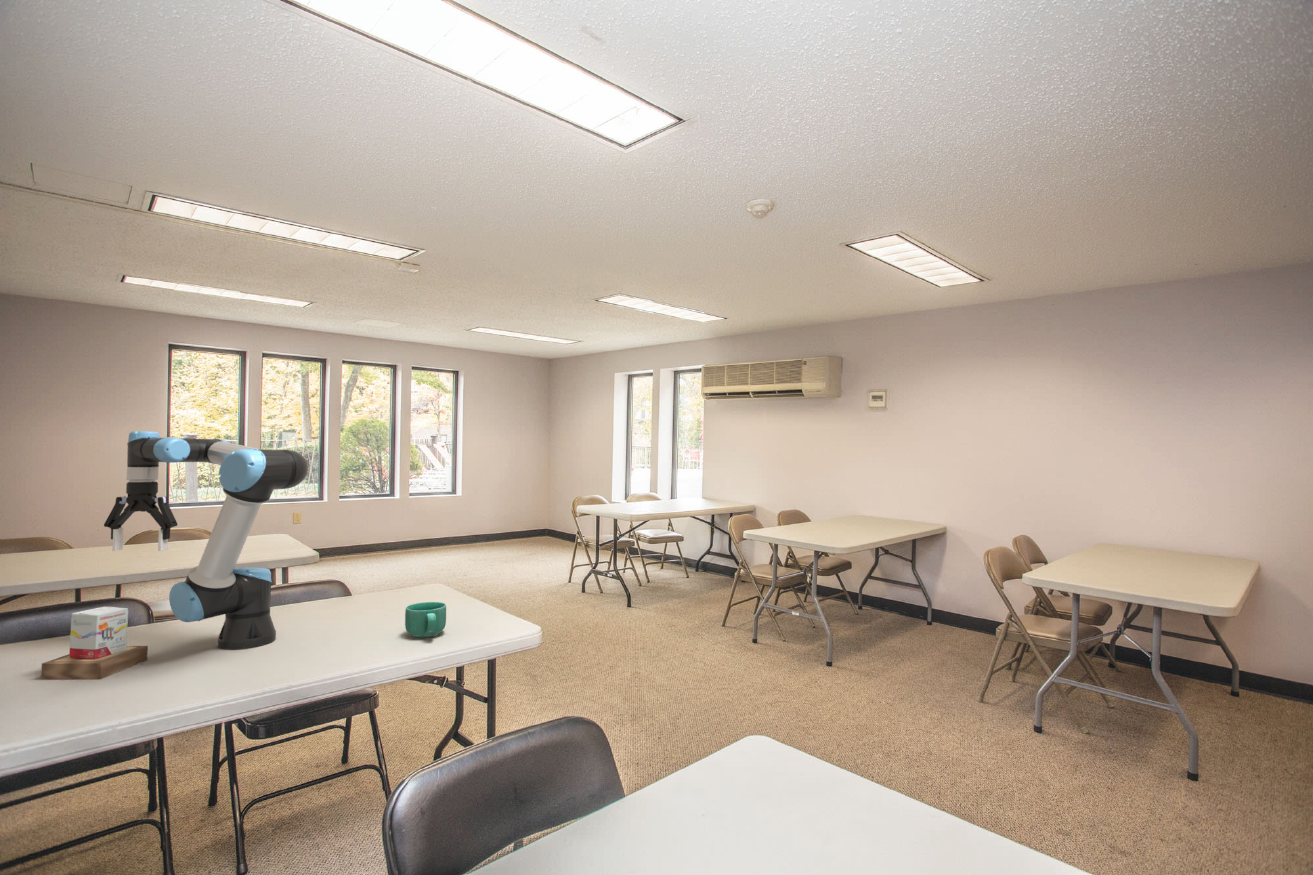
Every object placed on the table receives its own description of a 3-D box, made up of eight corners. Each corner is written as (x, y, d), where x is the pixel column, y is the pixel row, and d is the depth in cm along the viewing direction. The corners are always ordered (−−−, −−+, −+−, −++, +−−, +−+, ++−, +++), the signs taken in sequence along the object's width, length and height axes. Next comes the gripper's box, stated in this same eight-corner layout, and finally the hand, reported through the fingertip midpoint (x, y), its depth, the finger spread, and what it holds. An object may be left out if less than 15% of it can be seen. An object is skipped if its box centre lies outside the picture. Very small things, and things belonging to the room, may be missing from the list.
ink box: (94, 659, 161) (96, 614, 161) (68, 657, 162) (69, 612, 163) (128, 649, 169) (129, 606, 170) (102, 648, 171) (103, 605, 171)
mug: (403, 632, 203) (404, 603, 203) (443, 628, 208) (444, 600, 208) (406, 646, 188) (407, 615, 188) (449, 641, 193) (450, 611, 194)
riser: (147, 659, 173) (147, 645, 174) (100, 678, 158) (101, 662, 159) (92, 660, 173) (93, 645, 173) (41, 679, 158) (41, 663, 158)
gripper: (192, 480, 193) (190, 548, 193) (111, 480, 193) (109, 548, 192) (174, 481, 186) (172, 552, 185) (90, 481, 185) (87, 551, 184)
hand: (140, 550), depth 189 cm, fingers open, 13 cm apart
